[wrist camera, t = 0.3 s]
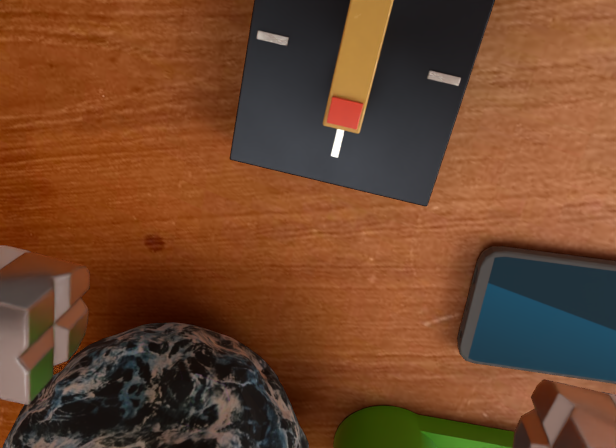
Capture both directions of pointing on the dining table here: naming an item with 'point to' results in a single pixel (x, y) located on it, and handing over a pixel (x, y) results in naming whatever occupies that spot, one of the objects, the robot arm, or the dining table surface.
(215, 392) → the decorative stone
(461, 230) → the dining table surface
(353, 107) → the thumb turn
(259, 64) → the plate
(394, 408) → the tape dispenser
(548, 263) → the smartphone
